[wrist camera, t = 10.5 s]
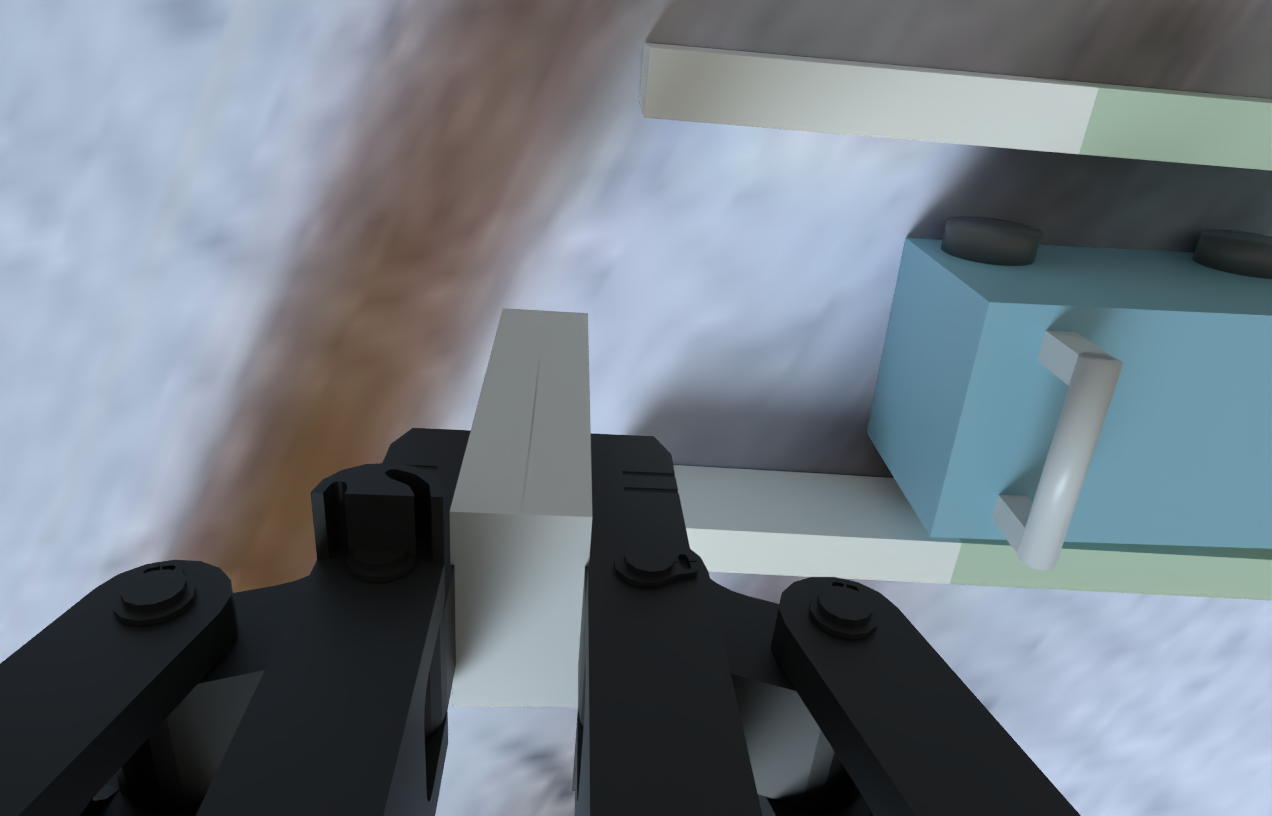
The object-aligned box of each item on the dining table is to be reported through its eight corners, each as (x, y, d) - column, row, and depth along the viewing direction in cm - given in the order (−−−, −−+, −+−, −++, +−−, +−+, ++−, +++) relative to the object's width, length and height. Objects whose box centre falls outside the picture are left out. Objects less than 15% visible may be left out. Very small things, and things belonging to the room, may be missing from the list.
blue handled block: (860, 449, 22) (955, 614, 16) (908, 210, 20) (1042, 300, 13) (1183, 461, 23) (1393, 626, 17) (1274, 230, 20) (1565, 325, 14)
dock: (607, 500, 22) (607, 592, 19) (643, 42, 18) (653, 49, 14) (1258, 536, 24) (1375, 630, 20) (1461, 115, 19) (1665, 140, 15)
